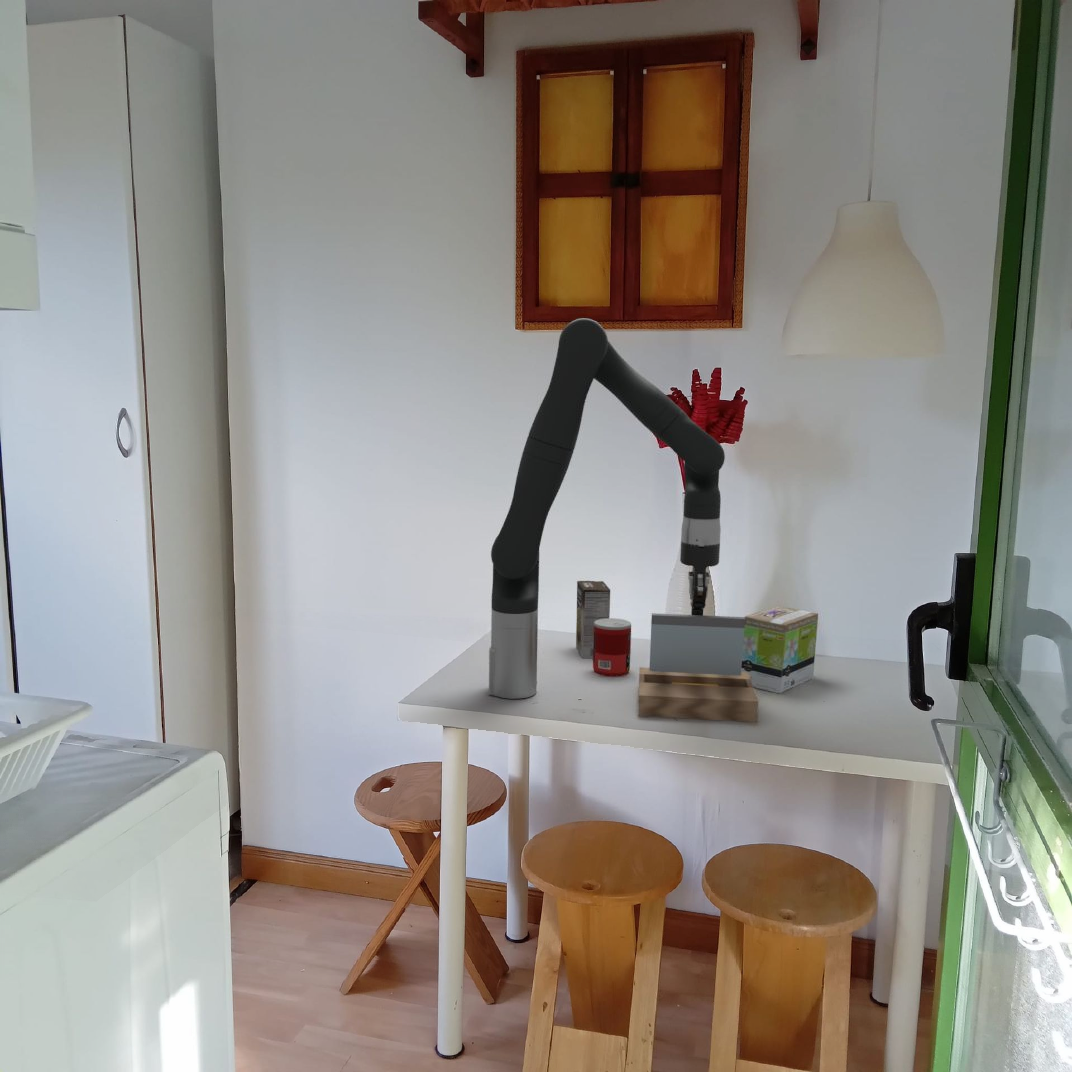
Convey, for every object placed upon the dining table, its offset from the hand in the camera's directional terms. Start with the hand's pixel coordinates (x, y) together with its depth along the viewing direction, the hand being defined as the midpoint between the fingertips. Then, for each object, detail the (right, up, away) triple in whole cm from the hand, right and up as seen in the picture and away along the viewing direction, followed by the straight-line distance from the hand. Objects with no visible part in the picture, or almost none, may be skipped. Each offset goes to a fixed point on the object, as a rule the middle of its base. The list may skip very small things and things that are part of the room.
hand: (696, 626), depth 193 cm
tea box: (+19, -13, +13) cm, 27 cm away
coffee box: (-19, -9, +32) cm, 38 cm away
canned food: (-16, -12, +18) cm, 26 cm away
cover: (0, -4, -1) cm, 4 cm away
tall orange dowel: (0, -14, +1) cm, 14 cm away
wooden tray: (-1, -15, -2) cm, 15 cm away
